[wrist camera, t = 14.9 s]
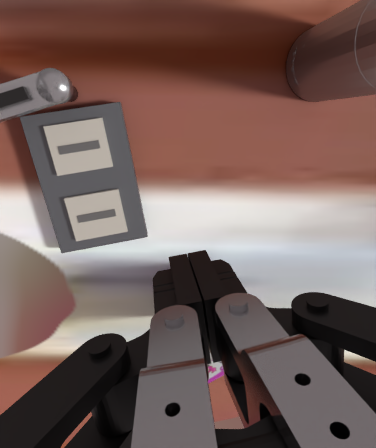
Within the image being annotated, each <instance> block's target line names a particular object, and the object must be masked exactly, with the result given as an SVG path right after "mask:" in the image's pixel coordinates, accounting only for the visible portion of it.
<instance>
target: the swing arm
mask: <svg viewBox="0 0 376 448" xmlns="http://www.w3.org/2000/svg"><path fill="white" fill-rule="evenodd" d="M72 94H73V85H72V82H71V81H70V79H69V78H68V77H67V76H66V75H65V74H63V73H62V72H60V71H59V70H57V69H54V68H46V69H44V70H42V71H41V72H37V73H34V74H31V75H28V76H25V77H22V78H19V79H15V80H12V81H9V82H6V83H3V84H0V123H1V122H4V121H7V120H10V119H13V118H16V117H19V116H23V115H26V114H29V113H32V112H35V111H38V110H41V109H44V108H47V107H50V106H54V105H57V104H63V103H66V102H67V101H69V100H70V98H71V97H72Z"/></svg>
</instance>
